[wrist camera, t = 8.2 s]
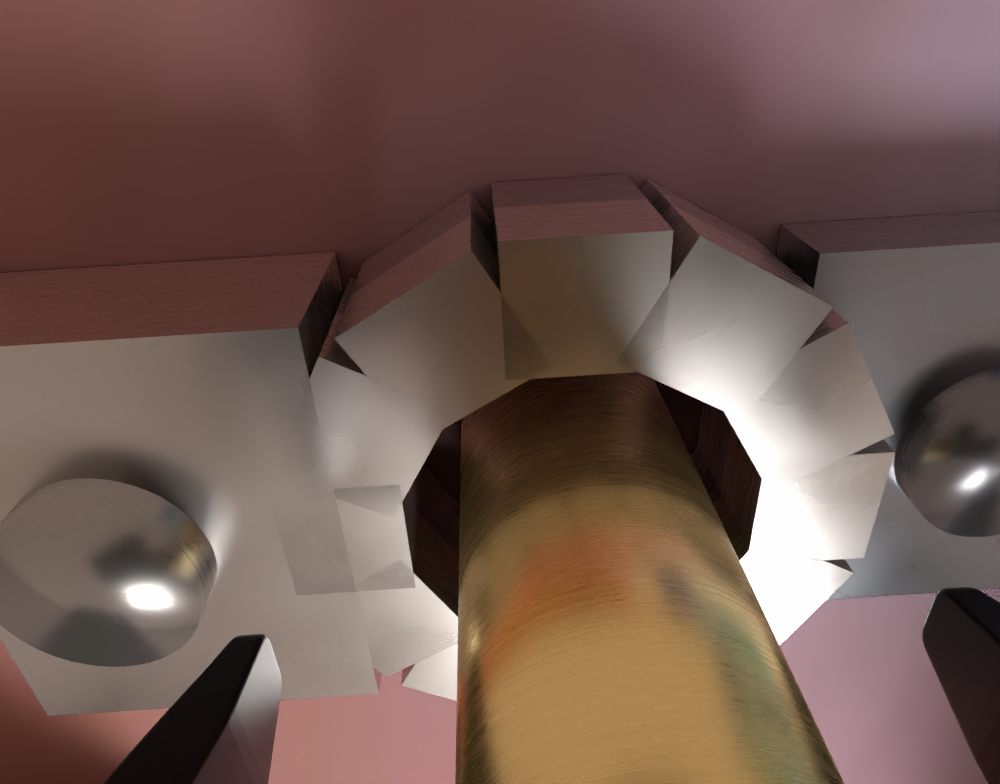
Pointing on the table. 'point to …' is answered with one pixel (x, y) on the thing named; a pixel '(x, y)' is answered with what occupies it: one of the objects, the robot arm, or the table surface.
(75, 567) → the flanged post bracket
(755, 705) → the brass pin
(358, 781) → the table surface
